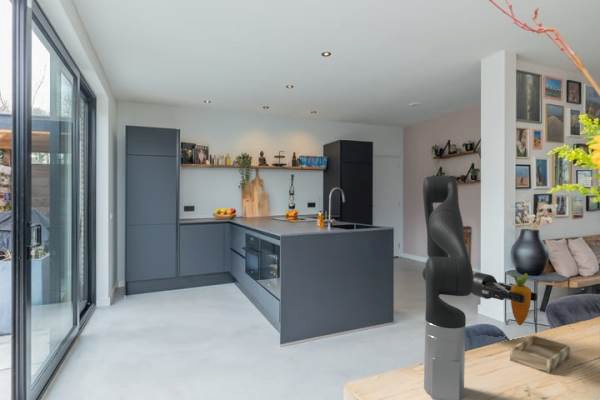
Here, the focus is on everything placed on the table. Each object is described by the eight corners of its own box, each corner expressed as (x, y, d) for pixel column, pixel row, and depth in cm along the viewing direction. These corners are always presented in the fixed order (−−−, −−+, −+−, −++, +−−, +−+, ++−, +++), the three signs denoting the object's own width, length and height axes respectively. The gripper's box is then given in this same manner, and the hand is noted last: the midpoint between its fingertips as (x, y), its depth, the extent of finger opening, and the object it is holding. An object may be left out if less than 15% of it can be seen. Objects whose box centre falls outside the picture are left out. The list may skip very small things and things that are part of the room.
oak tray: (549, 373, 97) (549, 361, 97) (510, 360, 104) (510, 348, 104) (570, 357, 107) (570, 345, 107) (533, 346, 115) (533, 335, 115)
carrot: (510, 326, 99) (512, 273, 98) (508, 321, 103) (510, 270, 103) (531, 329, 96) (533, 276, 96) (528, 324, 101) (530, 272, 101)
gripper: (461, 273, 110) (514, 287, 94) (492, 270, 116) (546, 282, 100) (460, 297, 110) (513, 314, 94) (491, 293, 116) (545, 308, 100)
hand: (530, 298), depth 97 cm, fingers closed on carrot, 5 cm apart
